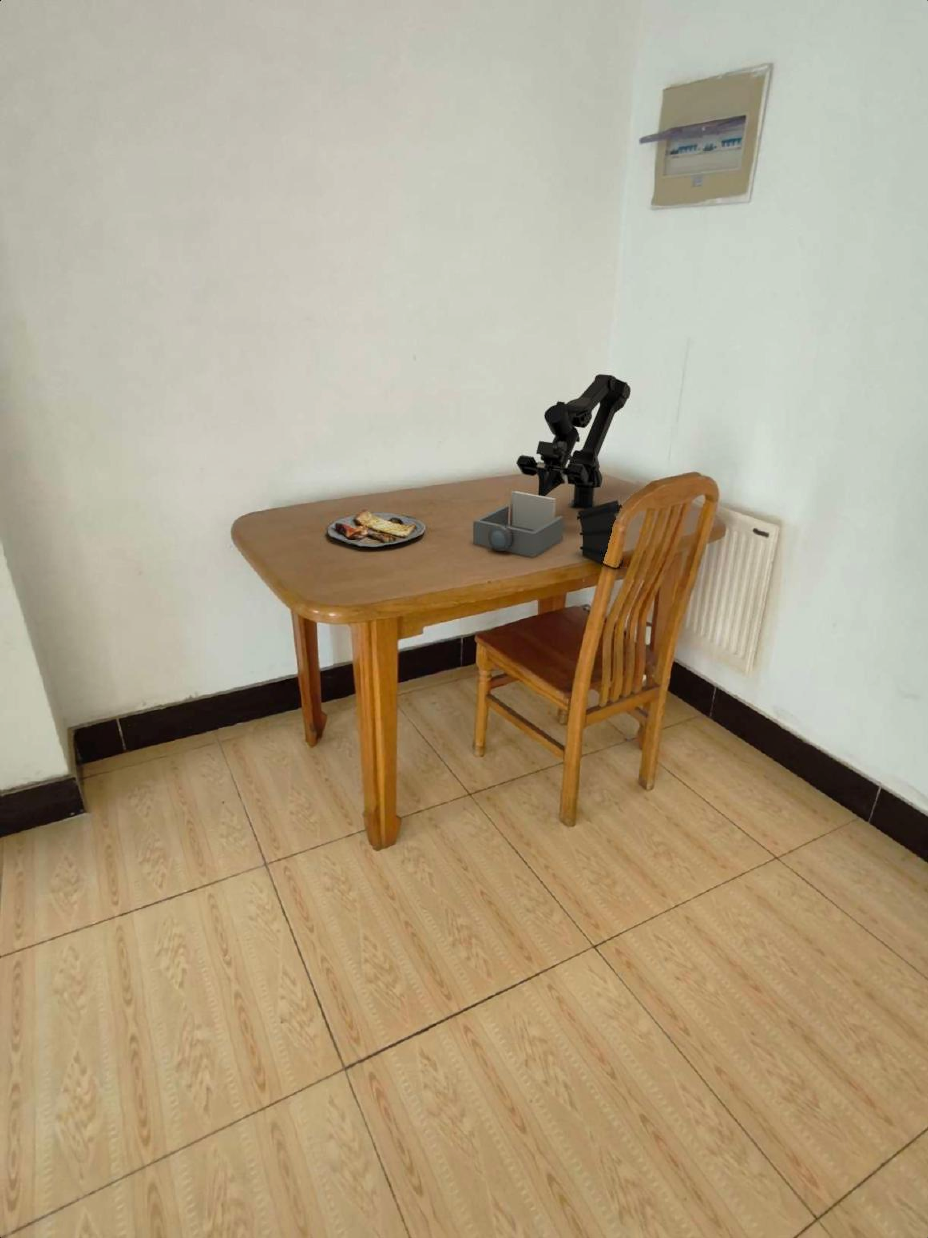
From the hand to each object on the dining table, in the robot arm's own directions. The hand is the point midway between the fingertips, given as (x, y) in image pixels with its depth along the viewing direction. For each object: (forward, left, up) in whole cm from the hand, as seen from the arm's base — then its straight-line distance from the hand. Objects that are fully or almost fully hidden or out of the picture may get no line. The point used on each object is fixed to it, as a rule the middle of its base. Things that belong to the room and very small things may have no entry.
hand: (540, 497), depth 186 cm
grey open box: (+9, -5, -9) cm, 14 cm away
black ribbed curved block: (+18, +15, -9) cm, 25 cm away
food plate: (+9, -42, -10) cm, 44 cm away
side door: (+1, -2, -8) cm, 8 cm away
